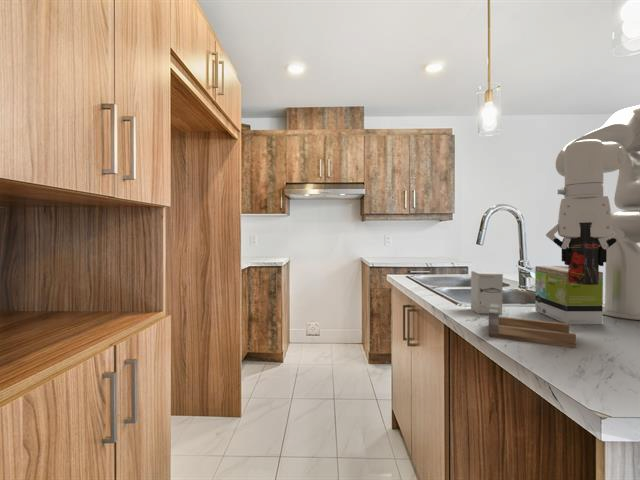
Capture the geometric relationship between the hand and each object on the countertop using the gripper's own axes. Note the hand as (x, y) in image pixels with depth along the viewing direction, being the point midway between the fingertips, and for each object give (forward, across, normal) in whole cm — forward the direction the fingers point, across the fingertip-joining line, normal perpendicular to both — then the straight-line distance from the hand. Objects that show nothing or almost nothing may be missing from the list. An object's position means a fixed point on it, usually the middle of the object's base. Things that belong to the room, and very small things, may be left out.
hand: (583, 264), depth 83 cm
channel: (+17, -12, -9) cm, 23 cm away
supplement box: (+17, -22, +13) cm, 31 cm away
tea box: (+18, -2, +16) cm, 24 cm away
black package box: (+5, 0, 0) cm, 5 cm away
